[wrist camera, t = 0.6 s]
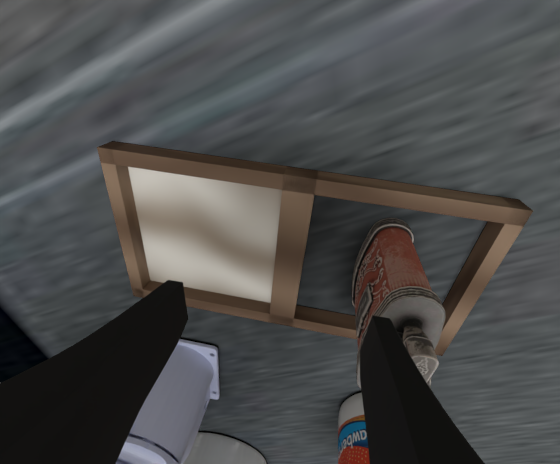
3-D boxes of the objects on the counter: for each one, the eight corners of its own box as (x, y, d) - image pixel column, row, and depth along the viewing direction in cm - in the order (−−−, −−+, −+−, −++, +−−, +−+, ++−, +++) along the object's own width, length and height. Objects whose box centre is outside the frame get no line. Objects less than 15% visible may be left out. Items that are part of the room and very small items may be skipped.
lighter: (369, 213, 19) (394, 336, 11) (421, 222, 19) (488, 355, 11) (344, 300, 24) (348, 436, 15) (386, 308, 23) (413, 450, 15)
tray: (436, 340, 24) (442, 355, 23) (143, 284, 27) (133, 295, 25) (518, 199, 17) (533, 211, 16) (112, 141, 20) (96, 147, 18)
